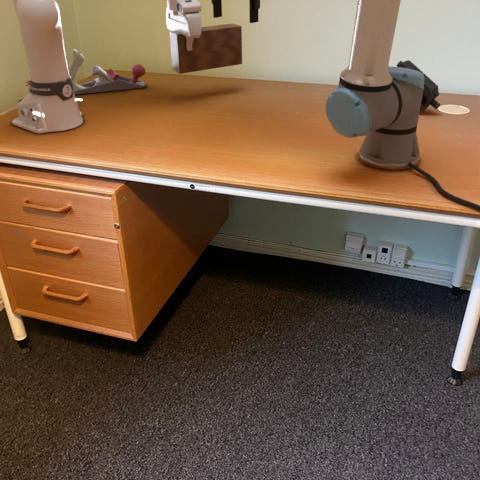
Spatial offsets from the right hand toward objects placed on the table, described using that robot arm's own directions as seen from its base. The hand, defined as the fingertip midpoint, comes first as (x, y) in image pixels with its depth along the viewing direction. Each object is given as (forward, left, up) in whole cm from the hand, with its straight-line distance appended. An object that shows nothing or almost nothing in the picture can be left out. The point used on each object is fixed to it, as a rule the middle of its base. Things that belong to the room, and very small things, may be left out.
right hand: (235, 19), depth 146 cm
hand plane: (+44, +48, -30) cm, 72 cm away
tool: (+11, -55, -30) cm, 64 cm away
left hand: (+28, +16, -13) cm, 35 cm away
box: (+32, +9, -20) cm, 39 cm away
